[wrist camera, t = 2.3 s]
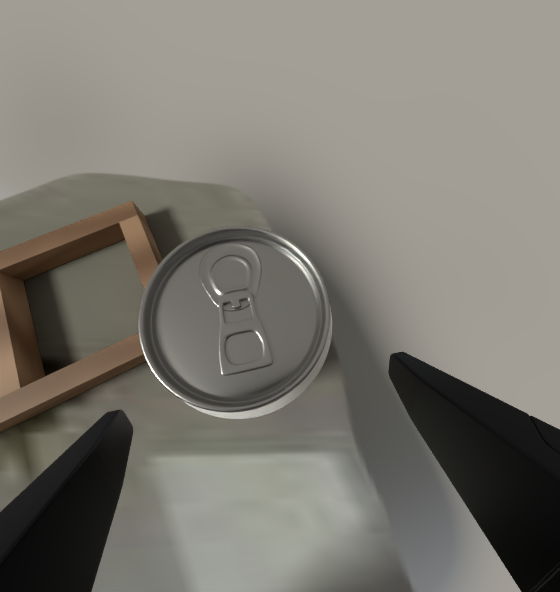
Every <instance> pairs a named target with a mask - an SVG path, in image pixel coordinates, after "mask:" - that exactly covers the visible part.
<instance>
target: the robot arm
mask: <svg viewBox="0 0 560 592" xmlns="http://www.w3.org/2000/svg"><path fill="white" fill-rule="evenodd" d="M389 376H390V379H391V381H392V383H393V385H394V387H395V389H396V391H397V393H398V394H399V397H400V399H401V401H402V402H403V404H404V406H405V408H406V410H407V412H408V414H409V416H410V418H411V420H412V421H413V423H414V425H415V426H416V428H417V429H418V431H419V433H420V434H421V436H422V437H423V439H424V440H425V442H426V443H427V445H428V447H429V448H430V450H431V451H432V453H433V454H434V456H435V457H436V459H437V461H438V462H439V464H440V465H441V467H442V468H443V470H444V471H445V473H446V474H447V476H448V478H449V479H450V481H451V482H452V484H453V486H454V487H455V489H456V490H457V492H458V493H459V495H460V496H461V498H462V499H463V501H464V502H465V504H466V506H467V507H468V509H469V511H470V512H471V514H472V515H473V517H474V518H475V520H476V521H477V523H478V525H479V526H480V528H481V529H482V531H483V532H484V534H485V536H486V537H487V539H488V540H489V542H490V543H491V545H492V546H493V548H494V549H495V551H496V552H497V554H498V556H499V557H500V559H501V561H502V562H503V563H504V565H505V567H506V568H507V570H508V571H509V573H510V575H511V576H512V578H513V579H514V581H515V582H516V584H517V585H518V587H519V588H520V590H521V592H560V429H557V428H555V427H553V426H551V425H549V424H547V423H545V422H543V421H541V420H539V419H537V418H535V417H533V416H529V415H528V414H527V413H525V412H523V411H521V410H519V409H517V408H515V407H513V406H511V405H509V404H507V403H505V402H503V401H501V400H499V399H497V398H495V397H493V396H491V395H489V394H487V393H485V392H483V391H481V390H479V389H477V388H475V387H473V386H471V385H469V384H467V383H465V382H463V381H461V380H459V379H457V378H455V377H453V376H451V375H449V374H447V373H445V372H443V371H441V370H439V369H437V368H435V367H432V366H430V365H429V364H427V363H425V362H423V361H421V360H419V359H417V358H415V357H412V356H411V355H409V354H407V353H404V352H399V353H394V354H391V356H390V362H389ZM132 436H133V427H132V424H131V422H130V421H129V419H128V418H127V416H126V414H125V413H124V411H122V410H115V411H111V412H107V413H106V414H105V415H103V416H102V417H101V418H100V419H99V420H98V421H97V422H96V423H95V424H94V425H93V426H92V427H91V428H90V429H89V430H87V431H86V432H85V433H84V434H83V435H82V436H81V437H80V438H79V439H78V440H77V441H76V442H75V443H74V444H73V445H71V446H70V447H69V448H68V449H67V450H66V451H65V452H64V453H63V454H62V455H61V456H60V457H59V458H58V459H57V460H55V461H54V462H53V463H52V464H51V465H50V466H49V467H48V468H47V469H46V470H45V471H44V472H43V473H42V474H41V475H39V476H38V477H37V478H36V479H35V480H34V481H33V482H32V483H31V484H30V485H29V486H28V487H27V488H26V489H25V490H23V491H22V492H21V493H20V494H19V495H18V496H17V497H16V498H15V499H14V500H13V501H12V502H11V503H10V504H9V505H7V506H6V507H5V508H4V509H3V510H2V511H1V512H0V592H91V591H92V588H93V584H94V581H95V578H96V574H97V571H98V567H99V564H100V561H101V557H102V554H103V551H104V547H105V544H106V540H107V537H108V534H109V530H110V527H111V523H112V520H113V517H114V513H115V510H116V507H117V503H118V500H119V496H120V493H121V489H122V486H123V481H124V477H125V472H126V466H127V461H128V456H129V451H130V446H131V441H132Z"/></svg>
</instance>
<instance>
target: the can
mask: <svg viewBox="0 0 560 592" xmlns="http://www.w3.org/2000/svg"><path fill="white" fill-rule="evenodd" d="M138 333H139V340H140V345H141V348H142V352H143V355H144V357H145V359H146V362H147V364H148V366H149V367H150V369H151V371H152V372H153V374H154V375H155V377H156V378H157V379H158V380H159V382H160V383H161V384H162V385H163V386H164V387H165V388H166V389H167V390H169V391H170V392H171V393H172V394H174V395H175V396H176V397H178V398H180V399H181V400H182V401H184V402H185V403H187V404H188V405H190V406H191V407H193V408H195V409H197V410H199V411H201V412H203V413H206V414H209V415H212V416H216V417H221V418H228V419H246V418H253V417H258V416H262V415H266V414H269V413H271V412H274V411H276V410H278V409H280V408H282V407H284V406H286V405H287V404H289V403H290V402H292V401H293V400H295V399H296V398H297V397H298V396H300V395H301V394H302V393H303V392H304V391H305V390H306V389H307V388H308V387H309V386H310V384H311V383H312V382H313V381H314V379H315V378H316V376H317V375H318V373H319V372H320V370H321V368H322V366H323V364H324V362H325V359H326V357H327V354H328V351H329V347H330V343H331V337H332V313H331V307H330V303H329V297H328V293H327V289H326V286H325V283H324V281H323V278H322V276H321V274H320V272H319V270H318V269H317V267H316V266H315V264H314V263H313V261H312V260H311V259H310V258H309V256H308V255H307V254H306V253H305V252H304V251H303V250H302V249H301V248H299V247H298V246H297V245H296V244H294V243H293V242H292V241H290V240H288V239H287V238H285V237H283V236H281V235H279V234H277V233H275V232H272V231H269V230H266V229H262V228H258V227H251V226H226V227H220V228H215V229H212V230H208V231H205V232H203V233H200V234H198V235H196V236H194V237H192V238H190V239H188V240H186V241H185V242H183V243H182V244H180V245H179V246H177V247H176V248H175V249H174V250H173V251H171V252H170V253H169V254H168V255H167V256H166V257H165V258H164V259H163V260H162V262H161V263H160V264H159V265H158V267H157V268H156V269H155V271H154V272H153V274H152V275H151V277H150V279H149V281H148V283H147V285H146V287H145V290H144V292H143V295H142V299H141V303H140V307H139V314H138Z"/></svg>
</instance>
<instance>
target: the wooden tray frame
mask: <svg viewBox="0 0 560 592" xmlns="http://www.w3.org/2000/svg"><path fill="white" fill-rule="evenodd" d="M124 239H125V240H126V242H127V245H128V248H129V250H130V253H131V256H132V258H133V261H134V264H135V266H136V269H137V271H138V274H139V277H140V279H141V282H142V285H143V287H144V290H145V287H146V285H147V283H148V281H149V279H150V277H151V275H152V274H153V272H154V271H155V269H156V268H157V267H158V265H159V264H160V263H161V262H162V260H163V259H162V257H161V255H160V252H159V250H158V247H157V245H156V242H155V240H154V238H153V235H152V233H151V230H150V228H149V226H148V223H147V221H146V218H145V216H144V215H143V213H142V212H141V211H140V210H139V209H138V207H137V206H136V205H135V204H134V203H133V201H130V202H127V203H124V204H122V205H119V206H117V207H114V208H112V209H109V210H106V211H104V212H101V213H99V214H96V215H93V216H91V217H88V218H86V219H83V220H81V221H78V222H75V223H73V224H70V225H68V226H65V227H62V228H60V229H57V230H55V231H52V232H49V233H47V234H44V235H42V236H39V237H37V238H34V239H31V240H29V241H26V242H24V243H21V244H18V245H16V246H13V247H11V248H8V249H6V250H3V251H0V433H1V432H3V431H5V430H7V429H9V428H11V427H13V426H15V425H17V424H19V423H21V422H23V421H25V420H27V419H29V418H31V417H34V416H36V415H38V414H40V413H42V412H44V411H46V410H48V409H50V408H52V407H54V406H56V405H58V404H60V403H62V402H64V401H66V400H68V399H70V398H72V397H74V396H77V395H79V394H81V393H83V392H85V391H87V390H89V389H91V388H93V387H95V386H97V385H99V384H101V383H103V382H105V381H107V380H109V379H111V378H113V377H115V376H117V375H119V374H122V373H124V372H126V371H128V370H130V369H132V368H134V367H136V366H138V365H140V364H142V363H144V362H146V359H145V357H144V355H143V352H142V348H141V345H140V340H139V333H137V334H135V335H133V336H131V337H128V338H126V339H124V340H122V341H120V342H118V343H116V344H113V345H111V346H109V347H107V348H105V349H103V350H101V351H99V352H96V353H94V354H92V355H90V356H88V357H86V358H84V359H81V360H79V361H77V362H75V363H73V364H71V365H69V366H67V367H64V368H62V369H60V370H58V371H56V372H54V373H52V374H49V375H47V376H45V373H44V368H43V364H42V360H41V355H40V351H39V347H38V342H37V338H36V334H35V329H34V325H33V321H32V316H31V312H30V308H29V303H28V299H27V295H26V290H25V286H24V282H23V281H24V280H26V279H29V278H31V277H34V276H36V275H39V274H41V273H43V272H46V271H48V270H51V269H53V268H56V267H58V266H61V265H63V264H65V263H68V262H70V261H73V260H75V259H78V258H80V257H83V256H85V255H88V254H90V253H92V252H95V251H97V250H100V249H102V248H105V247H107V246H110V245H112V244H114V243H117V242H119V241H122V240H124Z"/></svg>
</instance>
